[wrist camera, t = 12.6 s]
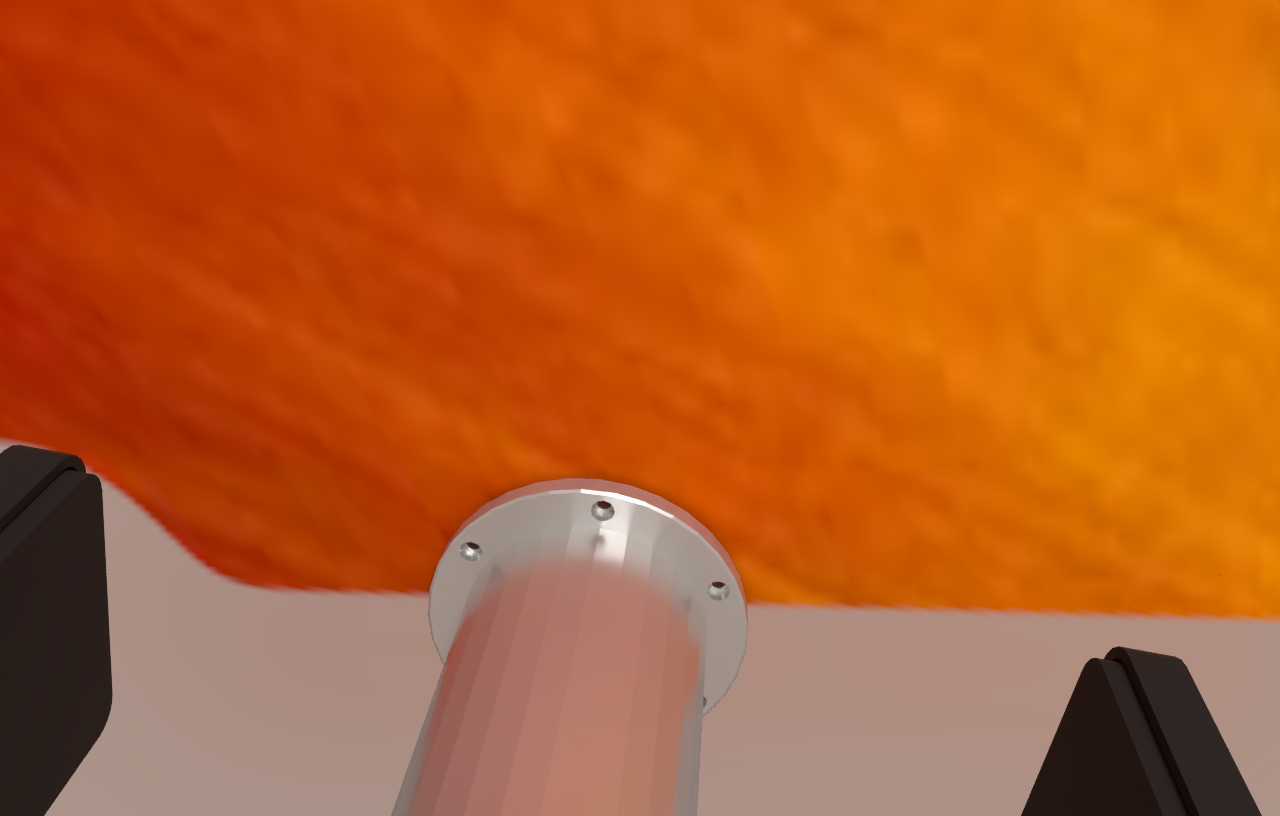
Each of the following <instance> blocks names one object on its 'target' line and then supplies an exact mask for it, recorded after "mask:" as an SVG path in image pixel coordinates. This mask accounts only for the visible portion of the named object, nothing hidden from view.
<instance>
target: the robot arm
mask: <svg viewBox="0 0 1280 816" xmlns="http://www.w3.org/2000/svg"><path fill="white" fill-rule="evenodd" d="M601 501H606V502H608V503H603V502H601ZM428 615H429V621H430V627H431V633H432V638H433V641H434V643H435V646H436V648H437V651H438V653H439V656H440V658H441V661H442V663H443V664H444V667H443V670H442V673H441V676H440V679H439V681H438V684H437V687H436V690H435V693H434V696H433V698H432V701H431V704H430V707H429V710H428V713H427V715H426V718H425V721H424V724H423V727H422V729H421V732H420V735H419V738H418V741H417V744H416V746H415V749H414V752H413V755H412V758H411V761H410V763H409V766H408V769H407V772H406V775H405V778H404V780H403V783H402V786H401V789H400V792H399V795H398V797H397V800H396V803H395V806H394V809H393V812H392V814H391V816H697V802H698V786H699V767H700V750H701V732H702V717H703V716H705V715H706V714H707V713H708V712H709V711H710V710H711V709H712V708H713V707H714V706H715V705H716V704H717V703H718V702H719V701H720V700H721V699H722V698H723V697H724V696H725V694H726V693H727V691H728V690H729V688H730V687H731V685H732V683H733V682H734V680H735V679H736V677H737V675H738V673H739V670H740V667H741V664H742V661H743V658H744V655H745V653H746V642H747V632H748V616H747V601H746V597H745V593H744V589H743V585H742V581H741V578H740V576H739V574H738V572H737V570H736V568H735V566H734V564H733V562H732V560H731V558H730V556H729V554H728V553H727V552H726V550H725V549H724V548H723V547H722V545H721V544H720V543H719V542H718V540H717V539H716V538H715V537H714V535H713V534H712V533H711V532H710V531H709V530H708V529H707V528H706V527H704V526H703V525H702V524H701V523H700V522H699V521H697V520H696V519H695V518H694V517H693V516H691V515H690V514H689V513H688V512H686V511H685V510H683V509H681V508H679V507H678V506H676V505H674V504H673V503H671V502H669V501H667V500H666V499H664V498H662V497H660V496H658V495H655V494H652V493H650V492H647V491H644V490H642V489H639V488H637V487H634V486H631V485H626V484H621V483H616V482H611V481H606V480H601V479H578V478H566V479H558V480H551V481H543V482H537V483H534V484H531V485H527V486H524V487H521V488H518V489H515V490H512V491H509V492H507V493H505V494H503V495H501V496H500V497H498V498H496V499H494V500H492V501H490V502H489V503H487V504H485V505H483V506H482V507H481V508H480V509H479V510H477V511H476V512H475V513H474V514H473V515H471V516H470V517H469V518H468V519H467V520H466V521H464V522H463V523H462V525H461V526H460V527H459V529H458V530H457V531H456V533H455V534H454V535H453V537H452V538H451V539H450V540H449V542H448V543H447V545H446V548H445V550H444V552H443V554H442V556H441V558H440V561H439V563H438V565H437V568H436V571H435V574H434V577H433V581H432V584H431V587H430V593H429V609H428ZM111 704H112V675H111V657H110V637H109V616H108V597H107V578H106V558H105V538H104V518H103V499H102V488H101V482H100V480H99V478H98V477H97V476H96V475H94V474H89V473H86V469H85V466H84V464H83V461H82V459H80V458H79V457H77V456H76V455H71V454H66V453H60V452H55V451H49V450H44V449H38V448H33V447H28V446H22V445H13V446H11V447H9V448H7V449H6V450H4V451H3V452H2V453H1V454H0V816H44V815H45V814H46V812H47V811H48V809H49V808H50V807H51V805H52V803H53V802H54V801H55V799H56V798H57V797H58V795H59V794H60V792H61V791H62V789H63V788H64V787H65V785H66V784H67V782H68V781H69V779H70V778H71V776H72V775H73V774H74V772H75V771H76V769H77V768H78V766H79V765H80V764H81V762H82V761H83V759H84V758H85V756H86V755H87V754H88V752H89V751H90V749H91V748H92V746H93V745H94V744H95V742H96V741H97V739H98V738H99V736H100V735H101V733H102V731H103V729H104V727H105V725H106V722H107V720H108V717H109V713H110V710H111ZM1021 816H1262V815H1261V813H1260V811H1259V809H1258V807H1257V805H1256V803H1255V801H1254V799H1253V797H1252V796H1251V793H1250V792H1249V789H1248V788H1247V785H1246V784H1245V782H1244V780H1243V778H1242V776H1241V774H1240V772H1239V770H1238V768H1237V766H1236V764H1235V762H1234V760H1233V758H1232V756H1231V754H1230V752H1229V750H1228V748H1227V746H1226V744H1225V742H1224V740H1223V738H1222V736H1221V734H1220V732H1219V730H1218V728H1217V726H1216V724H1215V722H1214V720H1213V718H1212V716H1211V714H1210V712H1209V710H1208V708H1207V706H1206V704H1205V702H1204V700H1203V698H1202V696H1201V694H1200V692H1199V690H1198V688H1197V686H1196V685H1195V682H1194V680H1193V678H1192V676H1191V674H1190V672H1189V671H1188V669H1187V667H1186V665H1185V664H1184V663H1183V661H1182V660H1181V659H1179V658H1177V657H1174V656H1168V655H1163V654H1157V653H1152V652H1146V651H1141V650H1135V649H1130V648H1125V647H1115V648H1112V649H1111V650H1110V651H1109V652H1108V653H1107V654H1106V656H1105V658H1104V659H1098V658H1092V659H1090V660H1089V661H1088V662H1087V663H1086V664H1085V666H1084V668H1083V670H1082V672H1081V675H1080V677H1079V679H1078V682H1077V684H1076V686H1075V689H1074V691H1073V693H1072V696H1071V698H1070V701H1069V703H1068V705H1067V708H1066V710H1065V712H1064V715H1063V717H1062V720H1061V722H1060V724H1059V727H1058V729H1057V732H1056V734H1055V736H1054V739H1053V741H1052V744H1051V746H1050V748H1049V751H1048V753H1047V756H1046V758H1045V760H1044V762H1043V765H1042V767H1041V769H1040V772H1039V774H1038V777H1037V779H1036V782H1035V784H1034V786H1033V788H1032V791H1031V793H1030V796H1029V798H1028V800H1027V803H1026V805H1025V808H1024V810H1023V812H1022V815H1021Z"/></svg>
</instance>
